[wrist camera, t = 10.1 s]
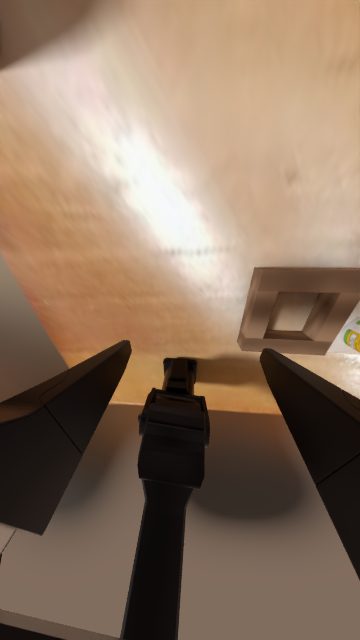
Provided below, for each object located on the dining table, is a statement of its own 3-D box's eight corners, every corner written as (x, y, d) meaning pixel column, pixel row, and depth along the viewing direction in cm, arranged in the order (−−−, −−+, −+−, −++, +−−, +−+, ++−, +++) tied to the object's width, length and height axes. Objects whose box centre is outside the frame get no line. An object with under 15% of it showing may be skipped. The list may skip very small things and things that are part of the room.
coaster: (371, 353, 22) (375, 355, 21) (312, 349, 23) (314, 352, 22) (415, 300, 18) (421, 302, 17) (341, 298, 18) (345, 300, 18)
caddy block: (311, 345, 22) (324, 355, 20) (237, 341, 23) (241, 350, 21) (354, 268, 17) (378, 270, 14) (254, 267, 18) (263, 269, 15)
